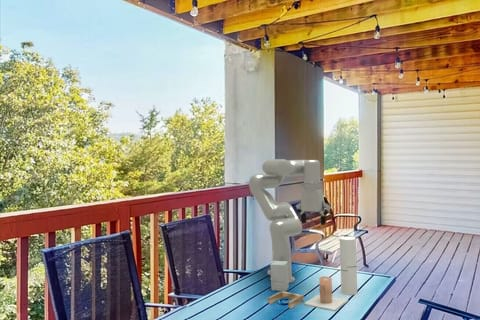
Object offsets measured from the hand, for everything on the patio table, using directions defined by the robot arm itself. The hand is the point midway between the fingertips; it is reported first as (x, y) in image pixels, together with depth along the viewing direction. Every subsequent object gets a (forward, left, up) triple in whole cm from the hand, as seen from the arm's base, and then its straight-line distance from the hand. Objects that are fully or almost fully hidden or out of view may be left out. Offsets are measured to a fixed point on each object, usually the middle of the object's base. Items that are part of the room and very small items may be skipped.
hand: (313, 223), depth 182 cm
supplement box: (-18, -2, -32) cm, 37 cm away
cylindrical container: (+12, +10, -32) cm, 36 cm away
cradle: (-6, -17, -32) cm, 37 cm away
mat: (+9, -8, -32) cm, 34 cm away
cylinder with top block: (+9, -8, -32) cm, 34 cm away
